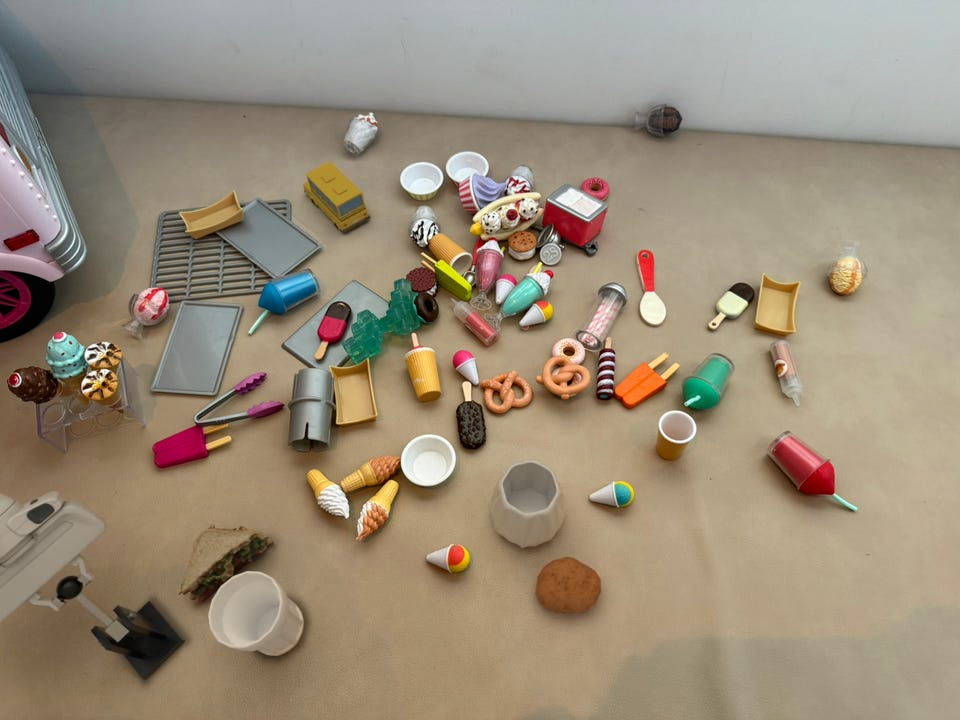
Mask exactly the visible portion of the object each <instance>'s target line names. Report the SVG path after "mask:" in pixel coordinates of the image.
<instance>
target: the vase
mask: <svg viewBox="0 0 960 720" xmlns="http://www.w3.org/2000/svg"><path fill="white" fill-rule="evenodd" d="M565 506H566V505H565V495H564V492H563V489H562V487H561V484H560V482H559V481H558V477H557V473H556V472H555V470H554V469H552V468H551V467H549V466H547V465H546V464H543V463H542V462H540V461H538V460H536V459H527V460H522V461H516V462H514V463H511V464H510V465H508V466H507V468H506V470H505V472H504V473H503V474H502V475H501V476H500V477H499V479H498V480H497V482H496V483H495V485H494V488H493V490H492V494H491V497H490V501H489V515H490V517H491V521H492V523H493V526H494V529H495V533H497V534H498V535H500V536H502V537H503V538H504V539H506V540H507V541H508V542H509V543H512V544H515V545H517V546H519V548H521V549H525V548H526V547H537V546H539V545H541V544H544V543H546V542H550V541H552V540H553V538H554V537H555V535H556V534H557V532H558V531H559V529H560V528H561V526H562V525H563V522H564V519H565V517H566V507H565Z"/></svg>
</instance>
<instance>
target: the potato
mask: <svg viewBox="0 0 960 720" xmlns="http://www.w3.org/2000/svg"><path fill="white" fill-rule="evenodd" d="M601 580H602V579H601V577H600V576H599V574H598V573H597V571H596V570H595V569H593V568H592V567H590V566H589V565H587V564H585V563H583V562H581V561H580V560H578V559H576V558H574V557H571V556H565V557H562V558H557V559H554V560H551V561H550V562H548V563H547V564H546V565H544V566H543V567H542V569H541V571H540V572H539V573H538V575H537V577H536V584H535V593H534V594H535V596H536V599H537V601H538V603H539V605H540V606H542V607H543V608H545V609H548V610H552V611H559V612H564V613H572V614H574V613H581V612H585V611H588V610H589V611H590V609H592V608H593V607H594V606H595V605H596V604H597V602H598V600H599V597H600V596H601V593H602V583H601V582H602V581H601Z"/></svg>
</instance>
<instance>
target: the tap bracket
mask: <svg viewBox="0 0 960 720" xmlns="http://www.w3.org/2000/svg"><path fill="white" fill-rule="evenodd" d="M112 611H113V613H114V614H115V615H116V617H117V616H118V617H119V618H120V620H121V621H122V622H123V623H124V625H125V626H126V627H127V628H128V629H130V631H129V632H128V633H127V634H126V635H125V636H124V637H123V638H122V639H121V640H120V641H119V642H117V641H115V640H114V639H113V638H112V637H111V636H110V635H108V634H107V633H106V632H105V628H106V627H102V626H99V625H94V626H93V627H92V628H91V629H90V632H91V633H92V634H93V636H94V637H95V638H96V640H97V643H98V645H99V646H101V647H102V648H103V649H104V650H105V651H108V652H111V653H116V654H120V655H123V656H124V657H125V658H126V660H127V661H128V663H129V664H130V665H131V666H132V667H133V669H134V670H135V672H136V673H137V674H138V675H139V676H140V677H141V679H142V680H147V679H149V677H150V676H151V675H152V674H153V673H155V671H157V669H159V668H160V666H161V665H163V663H164V662H165V661H167V659H168V658H170V657H171V656H172V655H173V654H174V653H175V651H177V650H178V649H179V648H180V646H181V645H183V644H184V643H185V641H186V640H185V638H183V636H182V635H181V634H180V633H179V631H178V630H177V629H176V628H175V627H174V625H173V624H172V623H171V622H170V621H169V619H168V618H167V617H166V616H165V615H164V614H163V613H162V611H161V610H160V609H159V608H158V606H156V604H155V603H154V602H153V601H151V600H148V601H147V602H146V603H145V604H144V605H142V607H141V608H140V609H139V610H138V611H134V610H131V609H129V608H127V607H124V606H121V605H119V604H117V605H116V606H115V607H114V608H113V609H112Z"/></svg>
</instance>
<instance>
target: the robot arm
mask: <svg viewBox="0 0 960 720" xmlns="http://www.w3.org/2000/svg"><path fill="white" fill-rule="evenodd" d="M106 531H107V520H106V519H105V518H104V517H103V516H102V515H100V514H99V513H98V512H97V511H95V510H94V509H92V508H91V507H89V506H87V505H86V504H84V503H82V502H80V501H78V500H75V499H66V500H65V497H64V495H63V494H62V493H61V492H60V491H59V490H51V491H49V492H47V493H45V494H43V495H40V496H39V497H36V498H34V499H31V500H29V501H27V502H25V503H23V504H21V503H19V501H18V500H16V499H15V498H13V497H11V496H10V495H7V494H5V493H3V492H2V491H0V624H1V623H2V622H4V621H5V620H6V619H8V617H9V616H11V615H12V614H13V613H14V612H15V611H16V610H18V608H20V607H21V606H22V605H23V604H24V603H25V602H26V601H28V602H29V603H30V604H31V605H35V606H43V607H44V606H45V607H49V608H51V609H53V610H54V611H55V612H59V611H60V610H61V609H63V607H65V605H67V600H64V599H61V598H60V597H59V596H58V595H57V594H55V596H53V597H49V596H42V592H41V591H40V589H41V588H42V587H44V586H45V585H46V584H47V583H48V582H50V580H52V579H53V578H54V577H55V576H56V575H57V574H59V573H60V572H61V571H62V570H63V569H64V568H66V567H67V566H68V565H69V564H71V565H72V566H73V567H77V566H79V570H80V573H79V574H78V575H77V580H78V581H80V582H83V586H85V587H87V586H88V585H89V584H91V582H92V581H94V579H95V576H94V574H92V572H90V571H89V570H88V569H87V566H86V562H85V557H84V555H82V554H81V553H83V552H84V551H85V550H87V548H88V547H90V546H91V545H92V544H93V543H94V542H95V541H96V540H98V539H99V538H100V537H101V536H102V535H104V533H106Z"/></svg>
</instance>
